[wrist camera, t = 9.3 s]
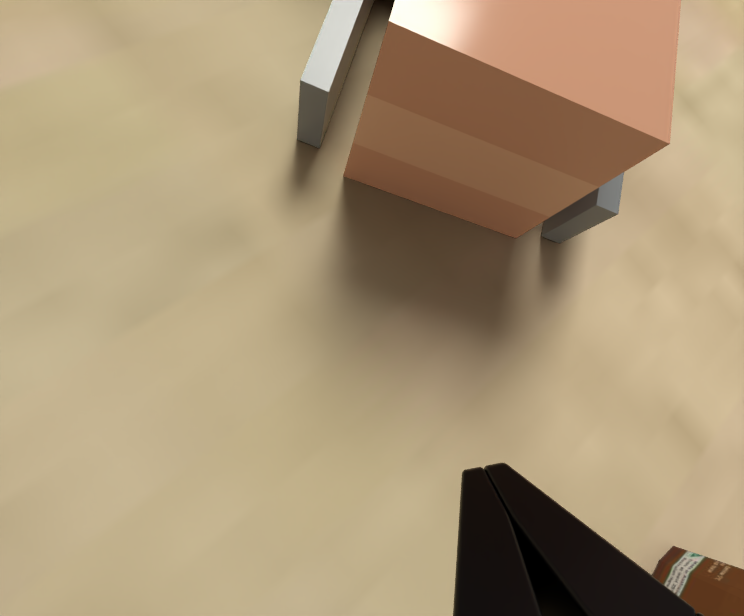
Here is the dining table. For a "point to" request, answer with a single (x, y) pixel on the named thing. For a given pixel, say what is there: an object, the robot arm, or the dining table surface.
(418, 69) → the tile stack
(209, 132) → the dining table surface
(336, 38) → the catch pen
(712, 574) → the food container
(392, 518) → the dining table surface
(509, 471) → the robot arm
